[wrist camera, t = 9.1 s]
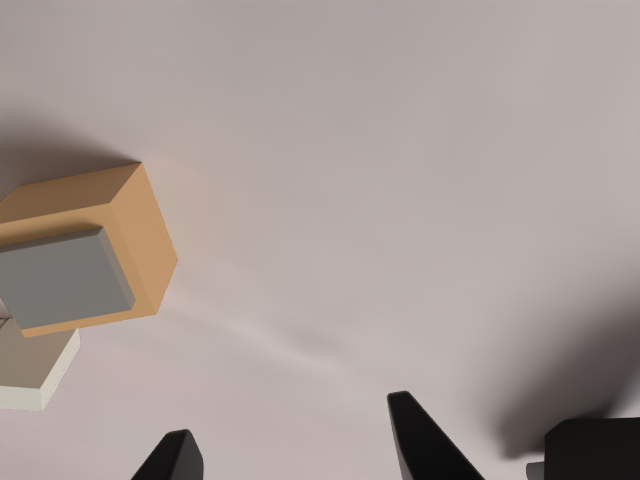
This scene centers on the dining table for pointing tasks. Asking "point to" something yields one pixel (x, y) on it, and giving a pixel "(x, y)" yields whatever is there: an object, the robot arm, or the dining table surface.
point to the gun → (590, 451)
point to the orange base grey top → (83, 251)
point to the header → (32, 365)
